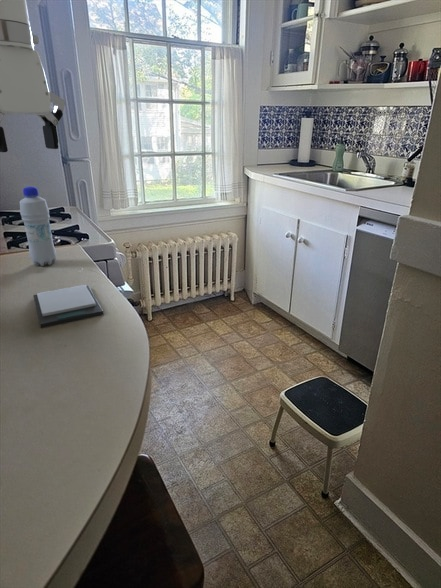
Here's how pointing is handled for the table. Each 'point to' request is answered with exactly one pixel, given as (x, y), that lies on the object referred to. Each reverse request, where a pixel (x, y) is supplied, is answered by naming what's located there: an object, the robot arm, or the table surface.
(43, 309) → the scale
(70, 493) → the table surface
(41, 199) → the bottle
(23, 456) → the table surface
